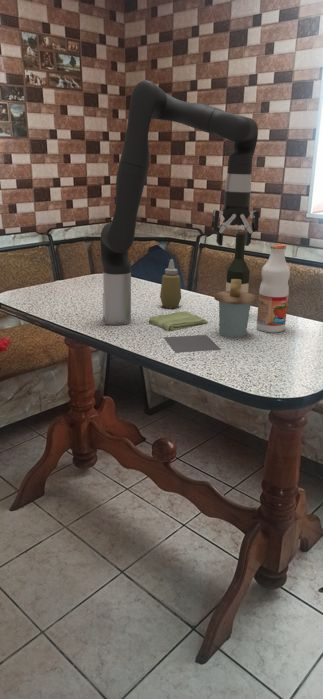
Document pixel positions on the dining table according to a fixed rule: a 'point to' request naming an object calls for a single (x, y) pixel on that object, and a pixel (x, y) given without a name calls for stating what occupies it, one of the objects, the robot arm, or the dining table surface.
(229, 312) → the grey-blue cup
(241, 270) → the wine bottle
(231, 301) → the lid
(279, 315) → the fruit juice
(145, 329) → the dining table surface
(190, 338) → the mat
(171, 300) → the squeeze bottle
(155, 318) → the washcloth
